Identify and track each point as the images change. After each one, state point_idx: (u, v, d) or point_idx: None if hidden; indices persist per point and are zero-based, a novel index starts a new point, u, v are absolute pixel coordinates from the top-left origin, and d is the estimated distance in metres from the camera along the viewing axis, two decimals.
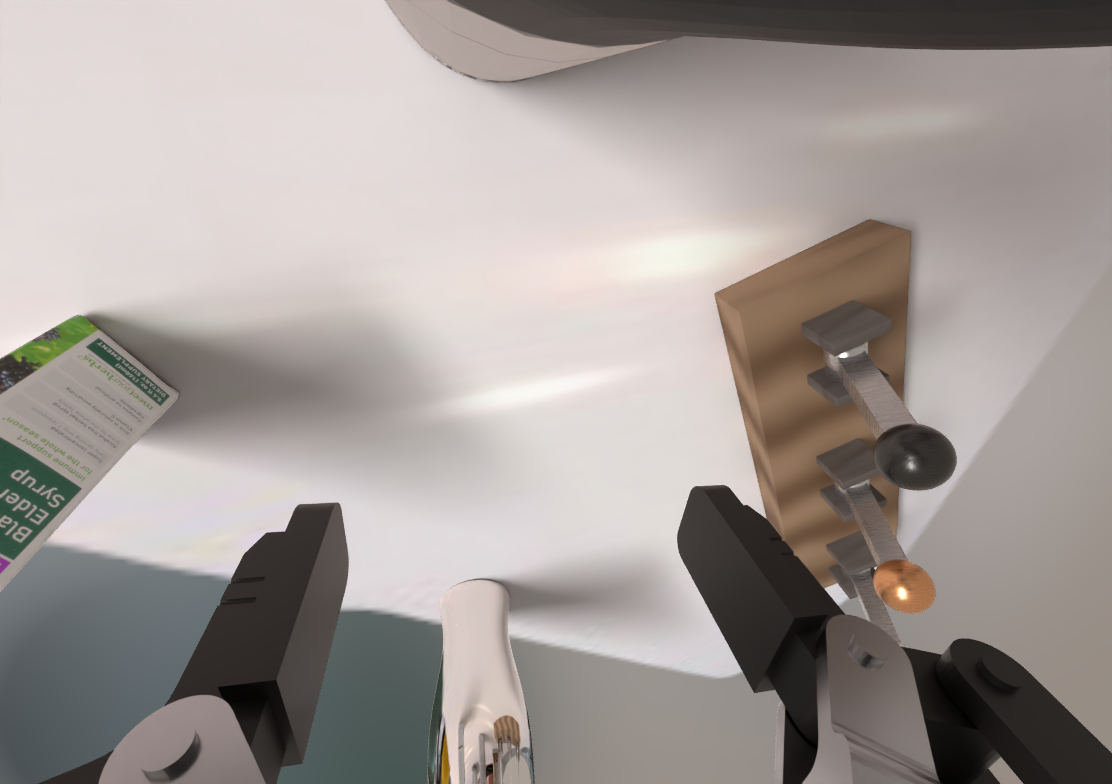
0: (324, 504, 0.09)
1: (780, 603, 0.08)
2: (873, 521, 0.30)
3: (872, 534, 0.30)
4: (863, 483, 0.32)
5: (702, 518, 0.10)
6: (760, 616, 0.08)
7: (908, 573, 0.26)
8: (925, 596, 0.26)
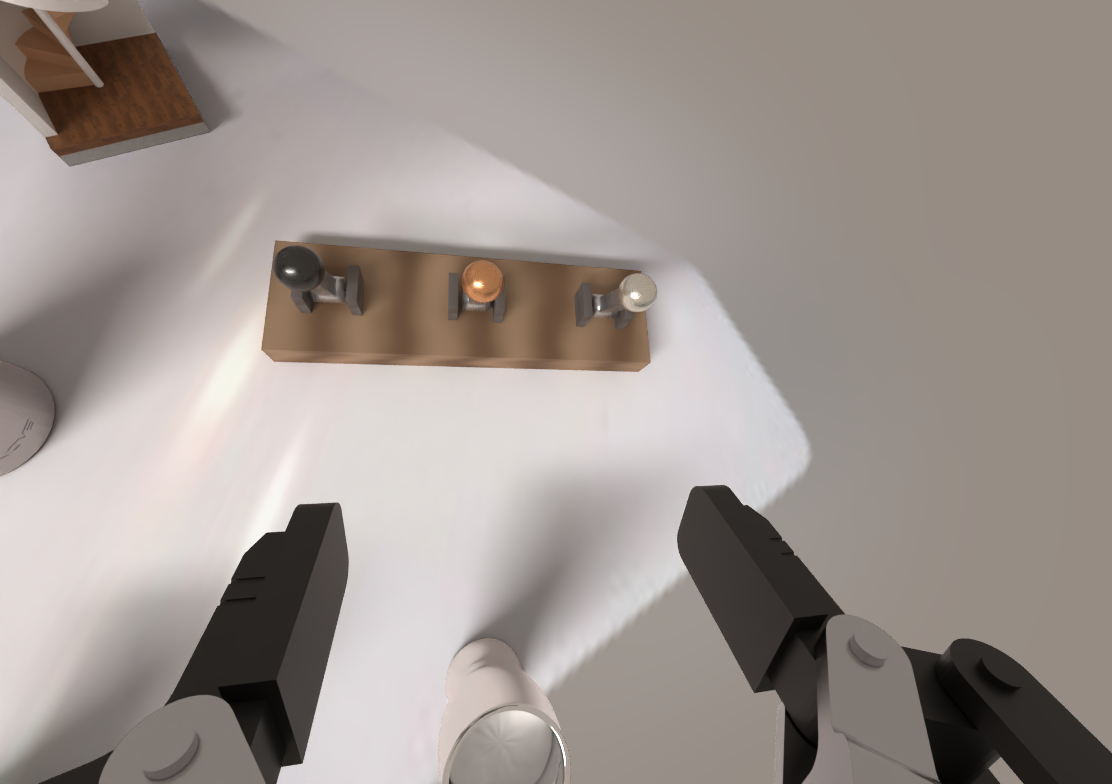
0: (324, 504, 0.09)
1: (780, 603, 0.08)
2: None
3: None
4: None
5: (702, 518, 0.10)
6: (760, 616, 0.08)
7: (462, 277, 0.32)
8: (472, 269, 0.32)
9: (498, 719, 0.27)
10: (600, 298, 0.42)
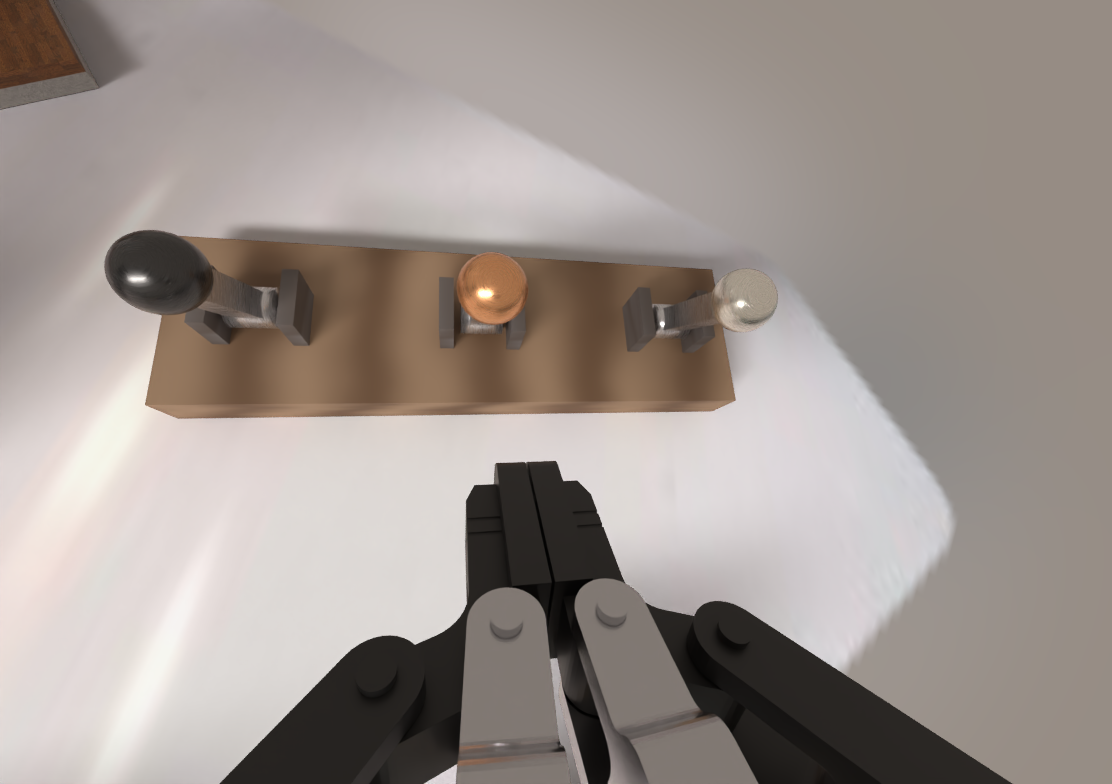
0: (516, 463, 0.11)
1: None
2: None
3: None
4: None
5: None
6: None
7: (457, 282, 0.19)
8: (475, 267, 0.18)
9: None
10: (665, 310, 0.28)
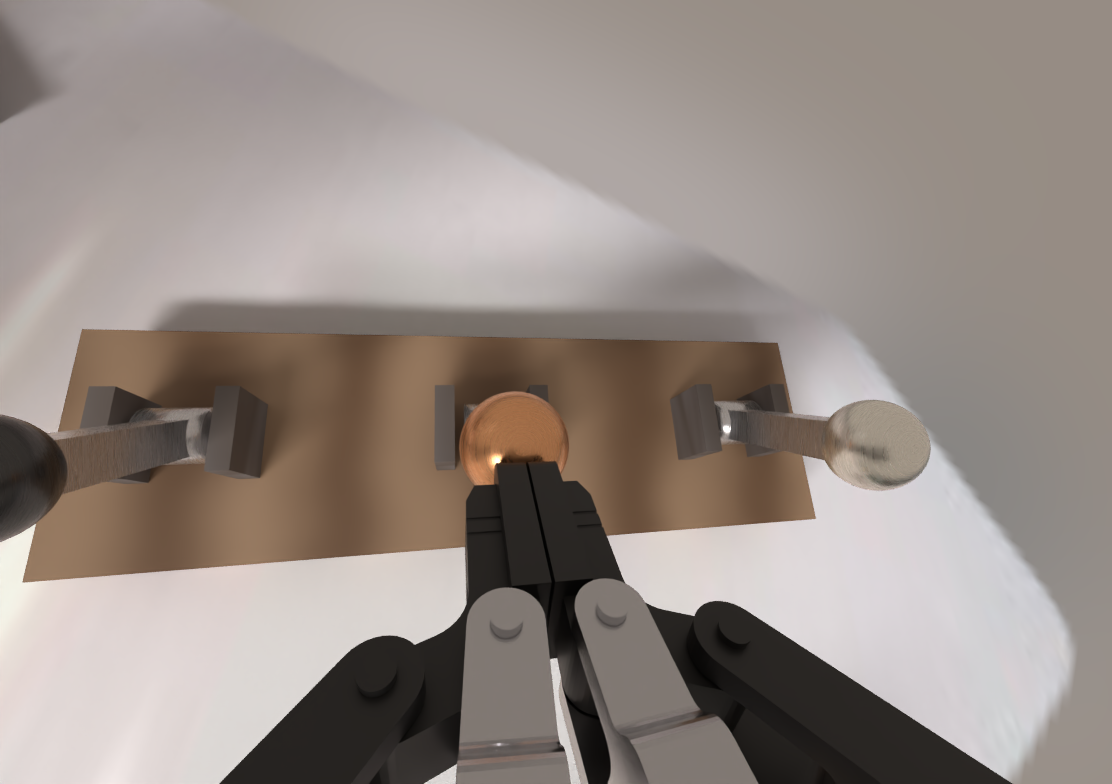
0: (516, 462, 0.11)
1: None
2: None
3: None
4: None
5: None
6: None
7: (460, 440, 0.12)
8: (489, 426, 0.11)
9: None
10: (731, 413, 0.22)
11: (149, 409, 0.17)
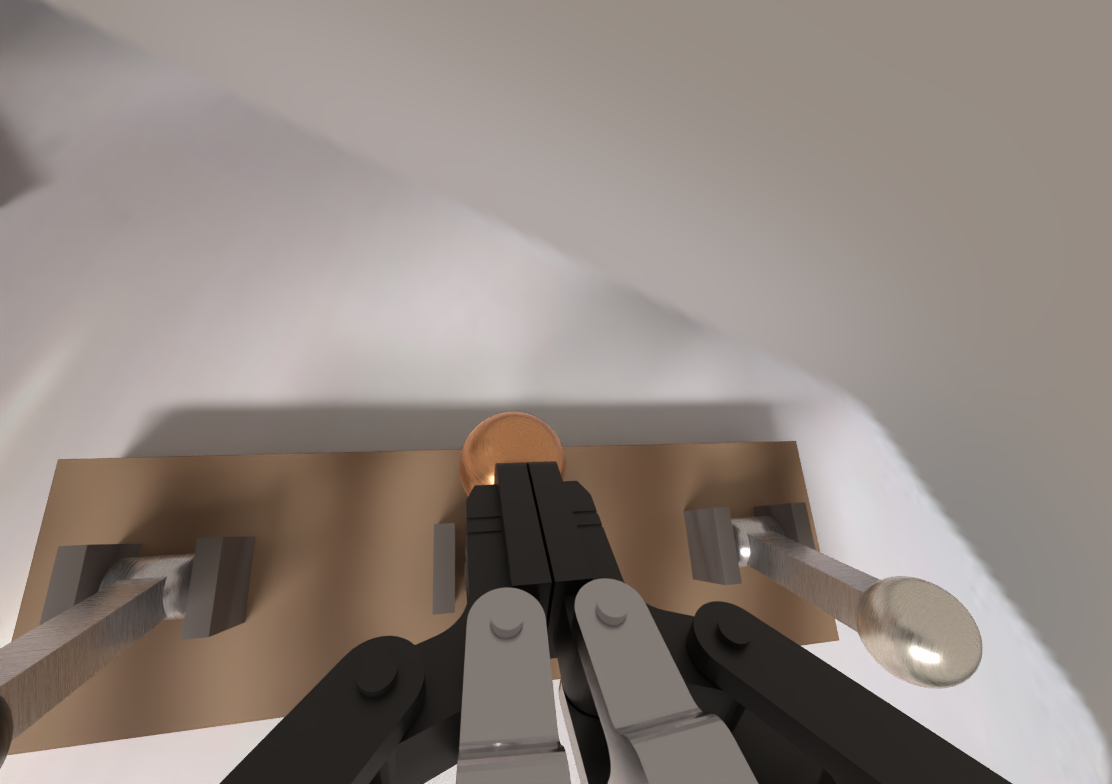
0: None
1: None
2: None
3: None
4: None
5: None
6: None
7: (460, 459, 0.13)
8: (486, 425, 0.12)
9: None
10: (751, 539, 0.20)
11: (124, 563, 0.16)
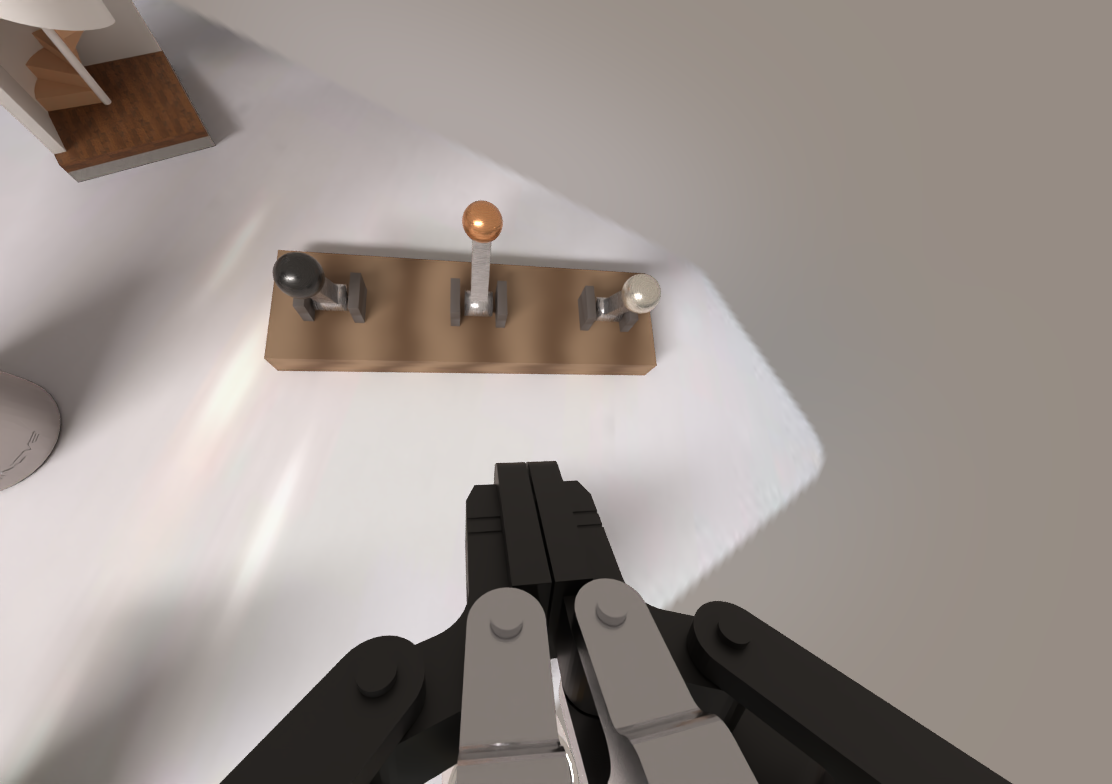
0: (516, 463, 0.11)
1: None
2: (471, 267, 0.37)
3: (472, 260, 0.36)
4: (468, 291, 0.40)
5: None
6: None
7: (462, 218, 0.34)
8: (472, 203, 0.34)
9: None
10: (604, 301, 0.42)
11: None
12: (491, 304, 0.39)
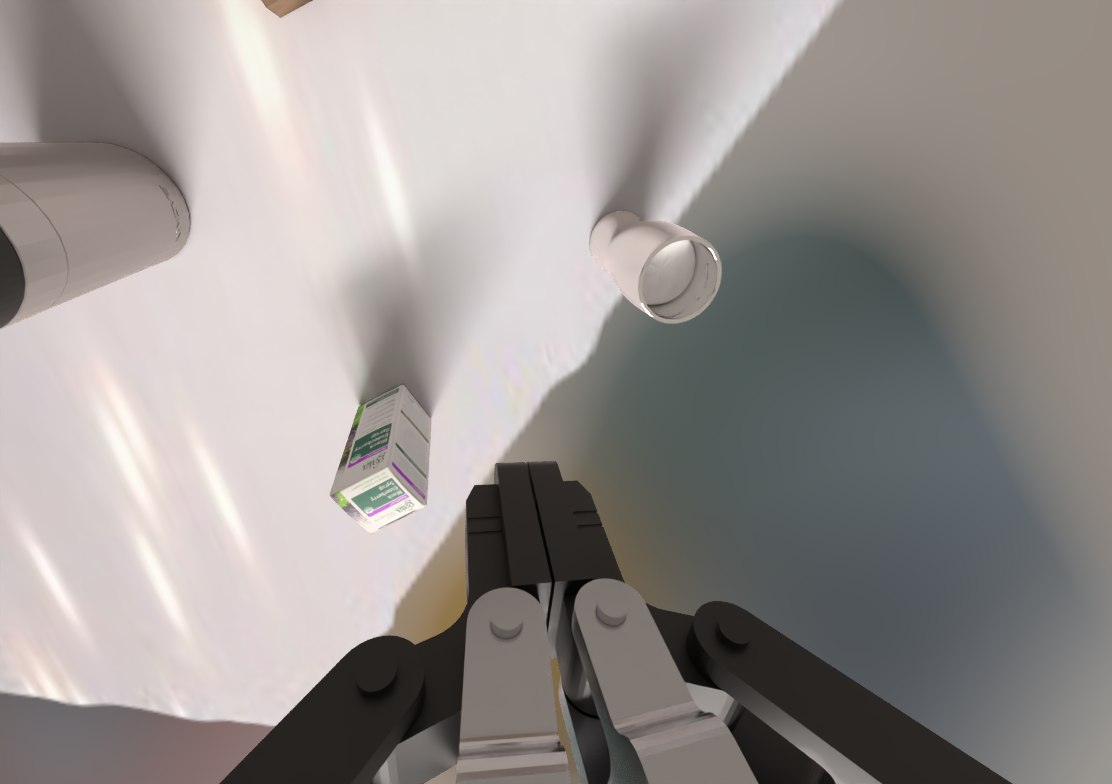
0: None
1: None
2: None
3: None
4: None
5: None
6: None
7: None
8: None
9: (655, 255, 0.36)
10: None
11: None
12: None
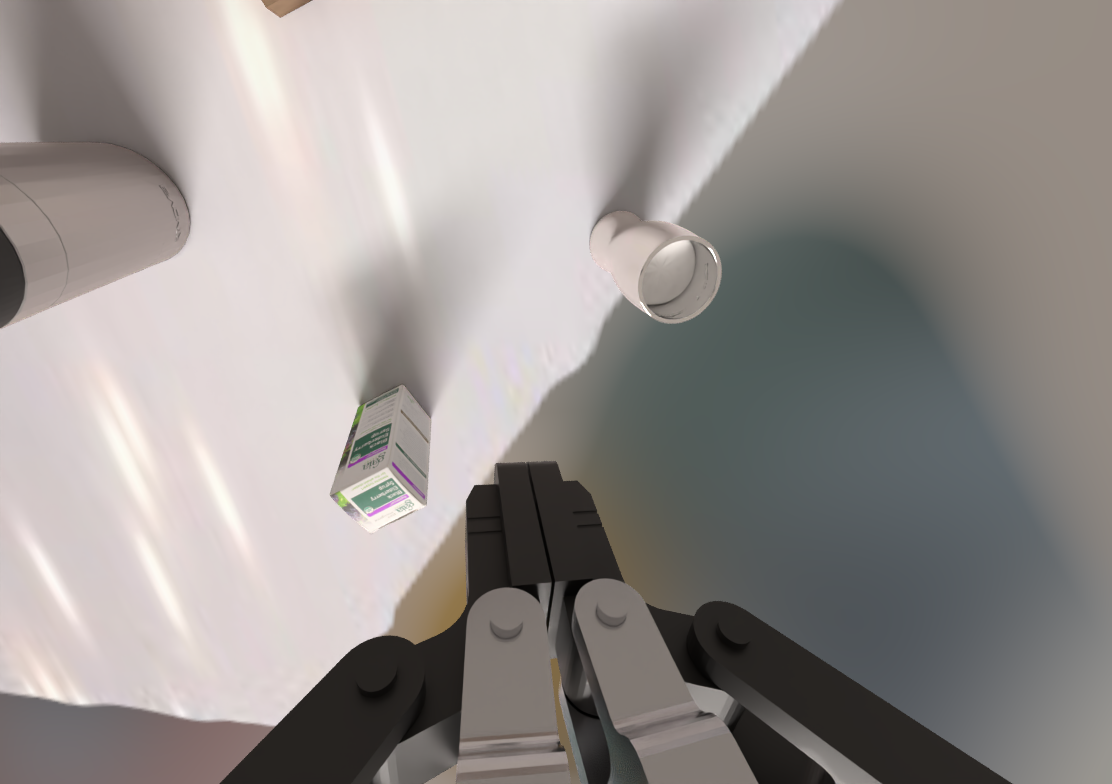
0: (516, 463, 0.11)
1: None
2: None
3: None
4: None
5: None
6: None
7: None
8: None
9: (655, 255, 0.36)
10: None
11: None
12: None
